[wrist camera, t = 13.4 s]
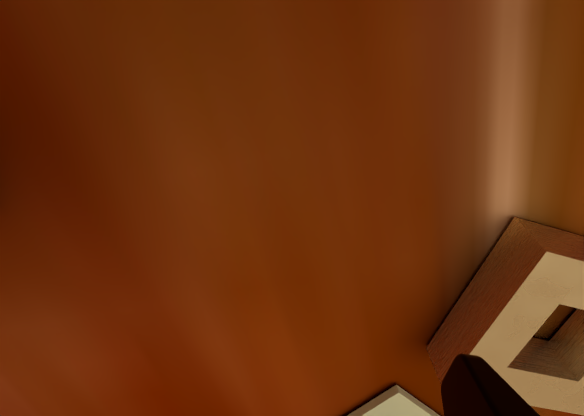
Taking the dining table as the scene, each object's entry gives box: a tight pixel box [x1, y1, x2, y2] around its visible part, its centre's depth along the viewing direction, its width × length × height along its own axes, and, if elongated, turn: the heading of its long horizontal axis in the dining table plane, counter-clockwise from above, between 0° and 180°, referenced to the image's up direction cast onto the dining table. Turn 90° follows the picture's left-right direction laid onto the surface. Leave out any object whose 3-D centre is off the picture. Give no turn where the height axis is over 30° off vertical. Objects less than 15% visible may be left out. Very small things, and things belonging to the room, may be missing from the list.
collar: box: [426, 217, 584, 415], centre depth 25 cm, size 10×10×3 cm
